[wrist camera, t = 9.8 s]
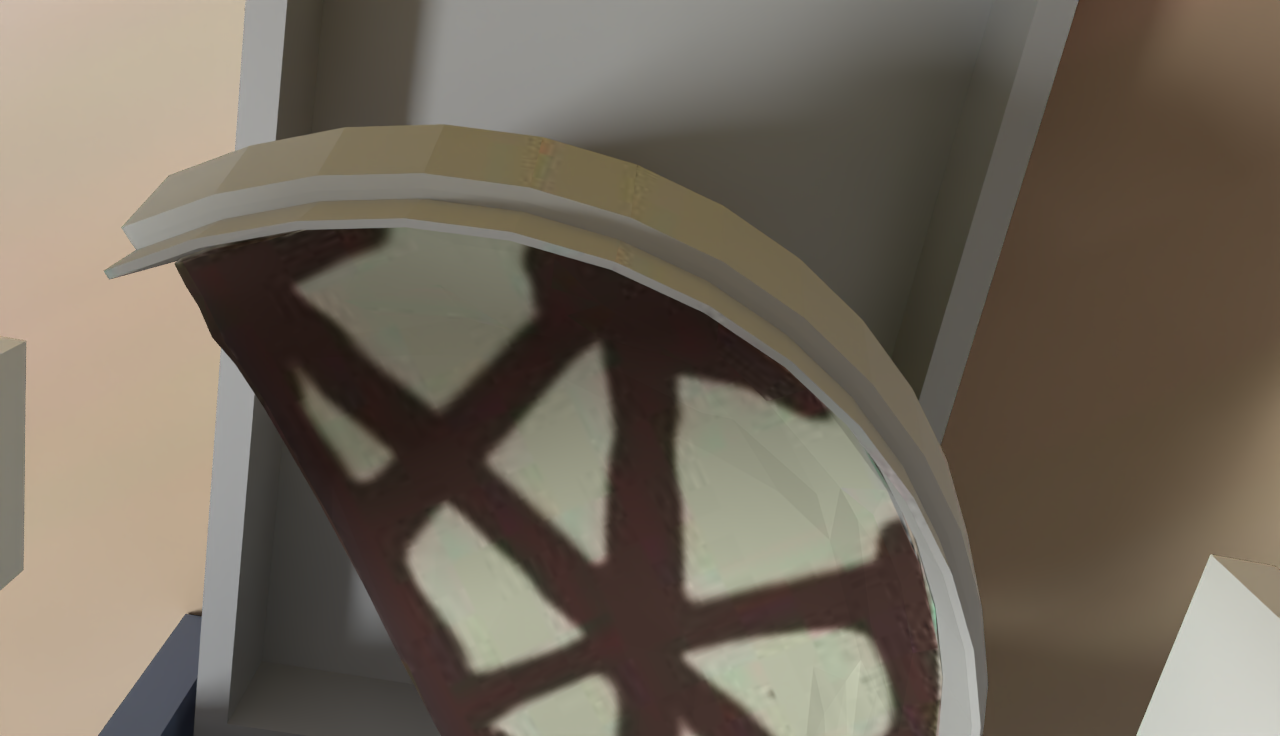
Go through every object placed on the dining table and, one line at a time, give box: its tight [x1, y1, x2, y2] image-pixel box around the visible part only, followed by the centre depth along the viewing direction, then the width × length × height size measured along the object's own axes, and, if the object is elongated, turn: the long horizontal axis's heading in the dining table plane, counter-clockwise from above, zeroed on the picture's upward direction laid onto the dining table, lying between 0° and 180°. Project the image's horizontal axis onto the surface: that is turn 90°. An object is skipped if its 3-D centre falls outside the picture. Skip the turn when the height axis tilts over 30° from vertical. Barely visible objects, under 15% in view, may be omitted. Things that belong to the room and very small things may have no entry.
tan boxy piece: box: [193, 0, 1079, 736], centre depth 13 cm, size 15×17×15 cm
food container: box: [104, 124, 988, 736], centre depth 15 cm, size 12×6×10 cm, turn 24°
